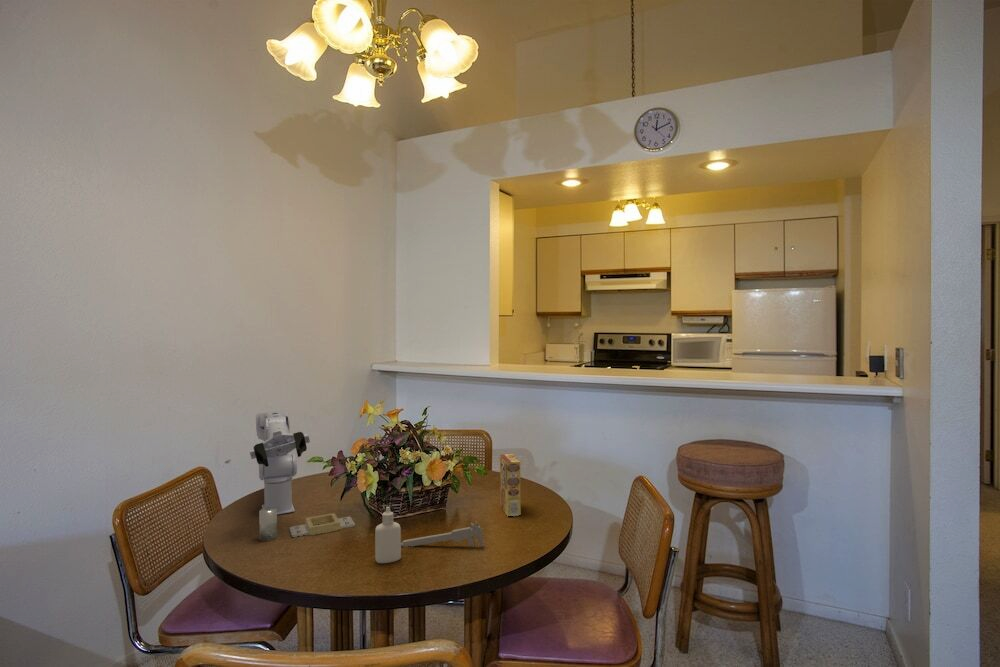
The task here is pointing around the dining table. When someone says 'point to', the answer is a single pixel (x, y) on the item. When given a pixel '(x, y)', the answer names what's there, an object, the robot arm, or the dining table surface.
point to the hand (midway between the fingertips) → (282, 458)
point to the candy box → (510, 485)
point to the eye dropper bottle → (387, 539)
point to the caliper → (449, 537)
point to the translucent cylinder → (268, 523)
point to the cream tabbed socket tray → (323, 528)
